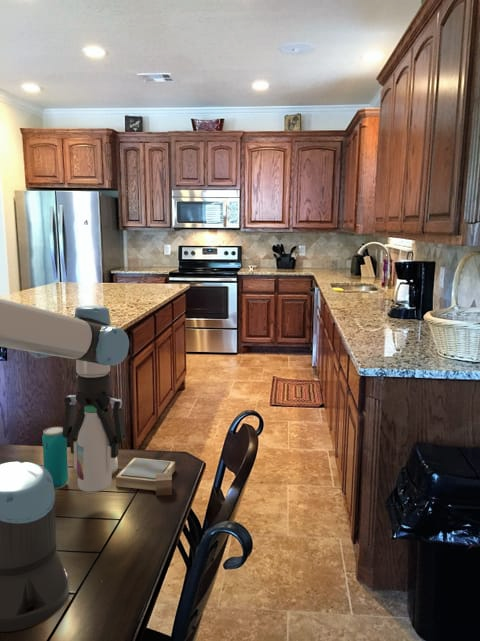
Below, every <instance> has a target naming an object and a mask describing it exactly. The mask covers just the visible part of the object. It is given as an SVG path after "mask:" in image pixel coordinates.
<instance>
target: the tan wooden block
mask: <svg viewBox="0 0 480 641" xmlns="http://www.w3.org/2000/svg"><path fill="white" fill-rule="evenodd" d="M172 475H173V474H172V472H171V473H156V490H155V496H156V497H157V496H158V497H159V496H172V495H173V476H172Z"/></svg>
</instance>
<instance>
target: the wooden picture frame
mask: <svg viewBox="0 0 480 641" xmlns="http://www.w3.org/2000/svg"><path fill="white" fill-rule="evenodd" d="M175 471H176V461H171V460H160V459H152V458H138V457H133V458H132V459H131V461H129V462H128V464H126V466H124V468H123V469H122V470H121V471H119V473H118V474H117V475H115V486H116V487H120V488H121V487H122V488H130V489H131V488H133V489H139V490H140V489H141V490H149V491H156V473H171V472H172V475H173V474H174V472H175Z"/></svg>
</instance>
